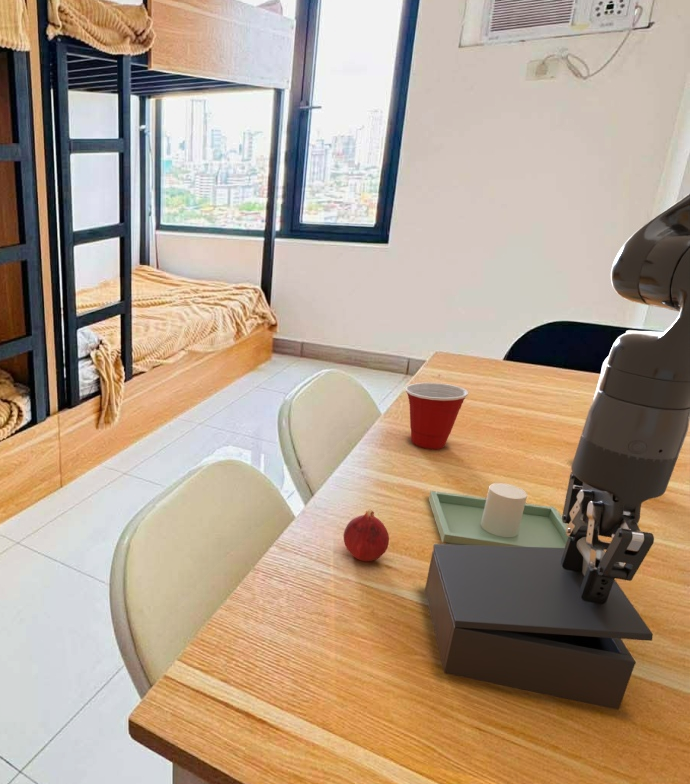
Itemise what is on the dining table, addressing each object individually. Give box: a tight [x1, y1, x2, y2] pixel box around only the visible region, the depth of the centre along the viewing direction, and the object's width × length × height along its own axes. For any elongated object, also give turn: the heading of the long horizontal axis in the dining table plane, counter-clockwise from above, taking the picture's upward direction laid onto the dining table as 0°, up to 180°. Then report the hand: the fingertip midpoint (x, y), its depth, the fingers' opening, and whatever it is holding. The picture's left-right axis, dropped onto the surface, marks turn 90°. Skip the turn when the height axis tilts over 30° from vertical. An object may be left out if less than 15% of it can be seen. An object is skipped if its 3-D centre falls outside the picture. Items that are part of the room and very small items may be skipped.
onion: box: [342, 509, 390, 562], centre depth 87 cm, size 6×6×8 cm
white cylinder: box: [481, 482, 528, 537], centre depth 93 cm, size 5×5×6 cm
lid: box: [432, 537, 654, 642], centre depth 68 cm, size 17×15×5 cm
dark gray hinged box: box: [424, 550, 636, 710], centre depth 71 cm, size 16×15×7 cm
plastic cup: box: [404, 382, 469, 450], centre depth 122 cm, size 11×11×12 cm
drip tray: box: [428, 490, 570, 548], centre depth 94 cm, size 18×14×2 cm
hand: (581, 583), depth 67 cm, fingers closed on lid, 5 cm apart
